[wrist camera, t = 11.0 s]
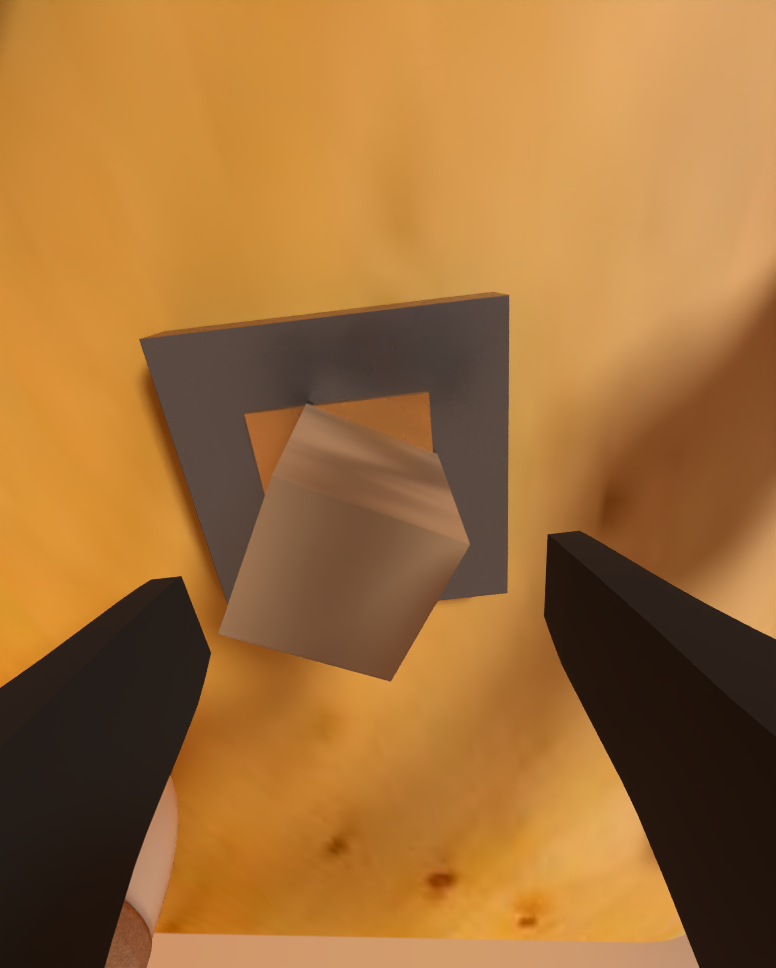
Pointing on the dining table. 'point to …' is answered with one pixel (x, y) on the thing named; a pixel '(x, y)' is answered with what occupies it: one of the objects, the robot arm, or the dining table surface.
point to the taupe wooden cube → (347, 548)
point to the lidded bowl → (147, 887)
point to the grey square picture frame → (344, 410)
